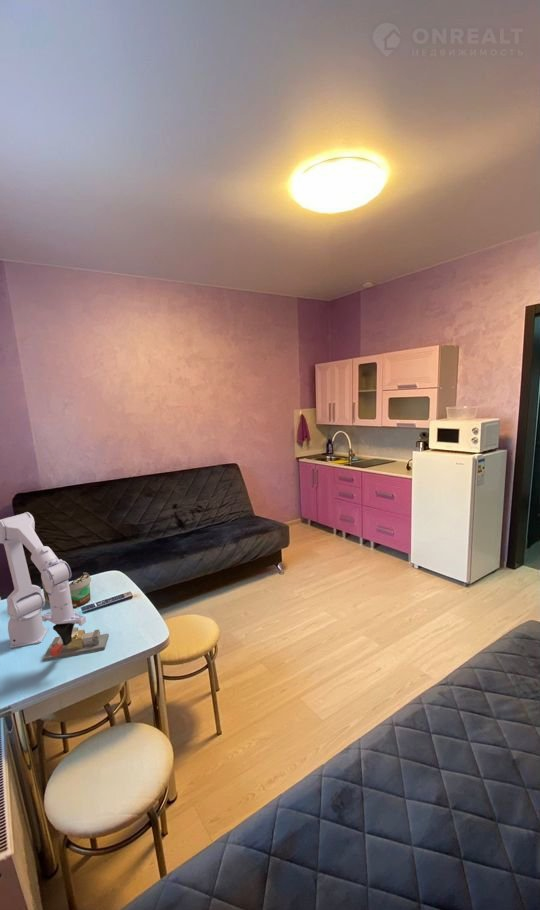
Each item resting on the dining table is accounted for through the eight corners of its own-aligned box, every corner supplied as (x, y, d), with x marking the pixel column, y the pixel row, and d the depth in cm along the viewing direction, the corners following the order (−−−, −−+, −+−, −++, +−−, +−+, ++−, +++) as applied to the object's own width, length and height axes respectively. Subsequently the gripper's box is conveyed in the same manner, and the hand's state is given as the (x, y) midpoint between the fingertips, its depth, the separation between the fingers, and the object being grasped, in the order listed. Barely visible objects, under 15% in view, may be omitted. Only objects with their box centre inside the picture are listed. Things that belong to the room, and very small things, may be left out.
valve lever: (73, 632, 125) (72, 626, 124) (79, 632, 125) (78, 626, 124) (51, 657, 113) (50, 650, 113) (57, 657, 113) (56, 650, 113)
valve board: (43, 661, 119) (42, 658, 119) (50, 646, 126) (50, 644, 126) (104, 649, 123) (104, 646, 123) (108, 636, 130) (108, 633, 130)
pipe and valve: (51, 654, 121) (49, 643, 120) (55, 646, 125) (54, 634, 125) (98, 645, 124) (97, 634, 123) (101, 637, 128) (99, 626, 128)
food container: (80, 611, 147) (76, 587, 145) (66, 610, 148) (62, 586, 147) (100, 594, 159) (97, 572, 157) (87, 594, 160) (84, 571, 158)
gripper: (90, 597, 117) (96, 637, 120) (52, 594, 121) (58, 632, 123) (73, 610, 111) (80, 652, 113) (33, 606, 115) (40, 647, 117)
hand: (67, 643), depth 118 cm, fingers closed, pressing on valve lever
